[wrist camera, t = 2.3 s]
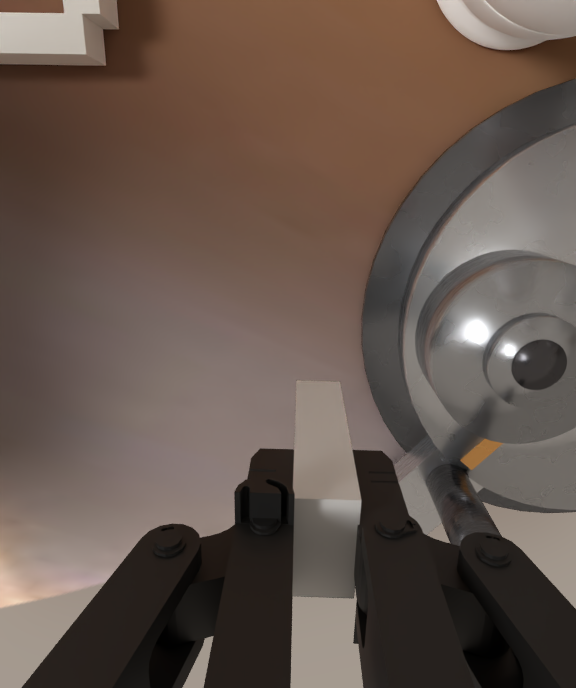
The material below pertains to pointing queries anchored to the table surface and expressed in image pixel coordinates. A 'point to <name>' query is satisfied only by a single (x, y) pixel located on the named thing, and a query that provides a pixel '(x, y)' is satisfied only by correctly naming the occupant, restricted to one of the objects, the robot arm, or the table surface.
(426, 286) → the turntable
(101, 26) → the teacup corral
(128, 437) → the table surface
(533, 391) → the cover
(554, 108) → the turntable base
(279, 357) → the table surface
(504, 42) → the jar
